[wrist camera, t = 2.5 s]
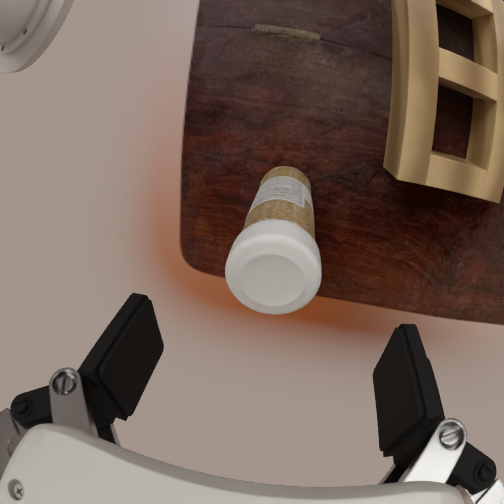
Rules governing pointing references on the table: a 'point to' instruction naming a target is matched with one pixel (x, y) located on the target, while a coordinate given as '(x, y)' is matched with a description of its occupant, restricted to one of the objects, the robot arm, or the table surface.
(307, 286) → the sprinkles bottle
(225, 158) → the table surface
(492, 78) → the holder
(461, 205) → the table surface
